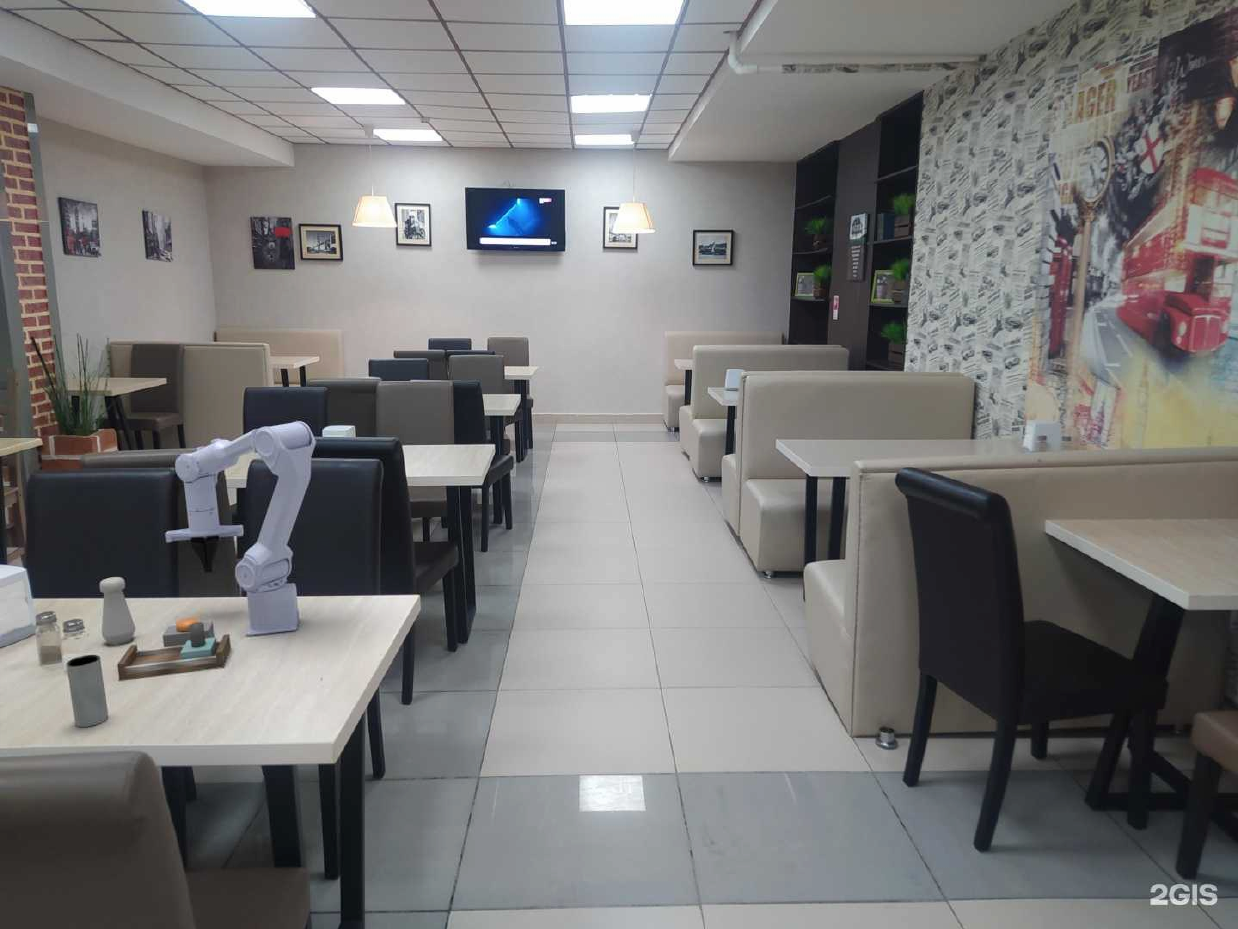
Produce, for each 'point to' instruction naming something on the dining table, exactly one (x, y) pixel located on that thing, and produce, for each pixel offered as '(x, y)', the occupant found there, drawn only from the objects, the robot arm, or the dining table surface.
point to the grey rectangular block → (184, 635)
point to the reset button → (185, 623)
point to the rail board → (168, 660)
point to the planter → (87, 690)
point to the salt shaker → (116, 613)
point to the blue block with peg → (198, 643)
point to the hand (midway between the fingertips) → (209, 571)
